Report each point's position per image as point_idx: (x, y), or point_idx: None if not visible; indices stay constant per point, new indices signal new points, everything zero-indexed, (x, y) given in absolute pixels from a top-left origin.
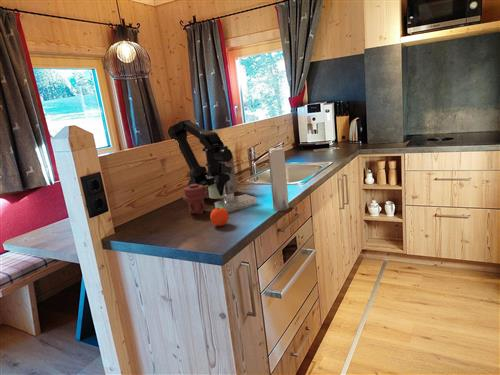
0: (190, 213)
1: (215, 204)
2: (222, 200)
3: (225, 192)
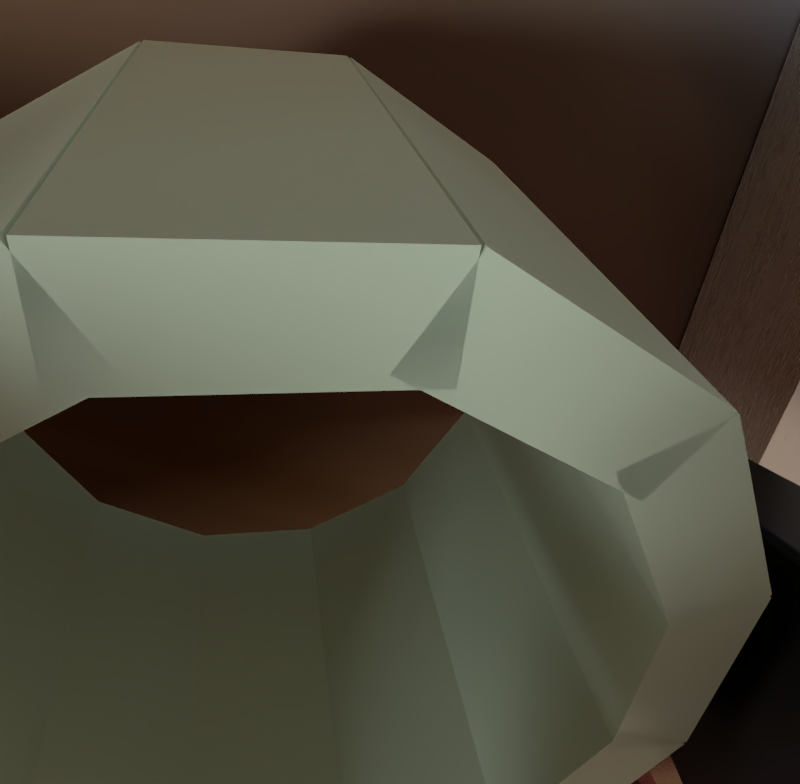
0: None
1: None
2: (769, 467)
3: (443, 136)
